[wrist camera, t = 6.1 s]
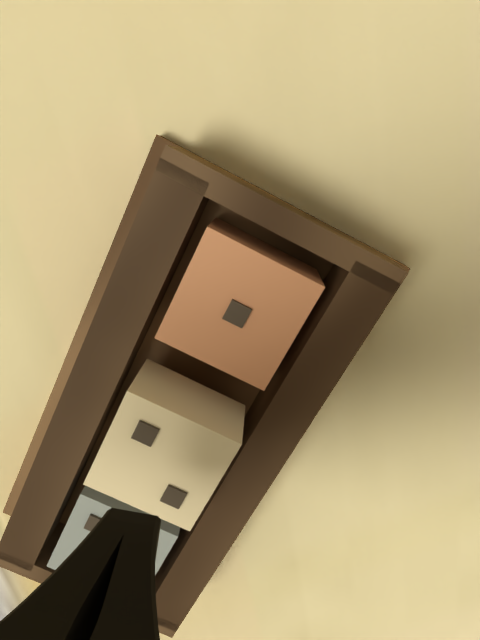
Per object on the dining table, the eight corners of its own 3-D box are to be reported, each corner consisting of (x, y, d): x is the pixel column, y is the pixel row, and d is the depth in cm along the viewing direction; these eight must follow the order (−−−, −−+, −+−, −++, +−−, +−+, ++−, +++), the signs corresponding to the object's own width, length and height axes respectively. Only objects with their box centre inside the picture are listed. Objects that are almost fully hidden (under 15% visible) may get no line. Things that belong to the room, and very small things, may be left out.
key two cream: (245, 405, 17) (241, 446, 14) (200, 483, 18) (189, 533, 16) (147, 358, 17) (126, 392, 14) (107, 442, 18) (81, 486, 15)
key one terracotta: (317, 269, 16) (325, 288, 14) (264, 360, 18) (263, 392, 15) (216, 217, 16) (206, 226, 13) (169, 314, 17) (153, 339, 15)
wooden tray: (405, 265, 17) (433, 285, 14) (200, 585, 23) (190, 645, 20) (160, 135, 16) (137, 129, 13) (9, 503, 22) (-30, 554, 19)
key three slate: (188, 492, 20) (177, 538, 17) (152, 555, 21) (137, 607, 18) (103, 453, 19) (79, 495, 17) (71, 520, 21) (45, 568, 18)
